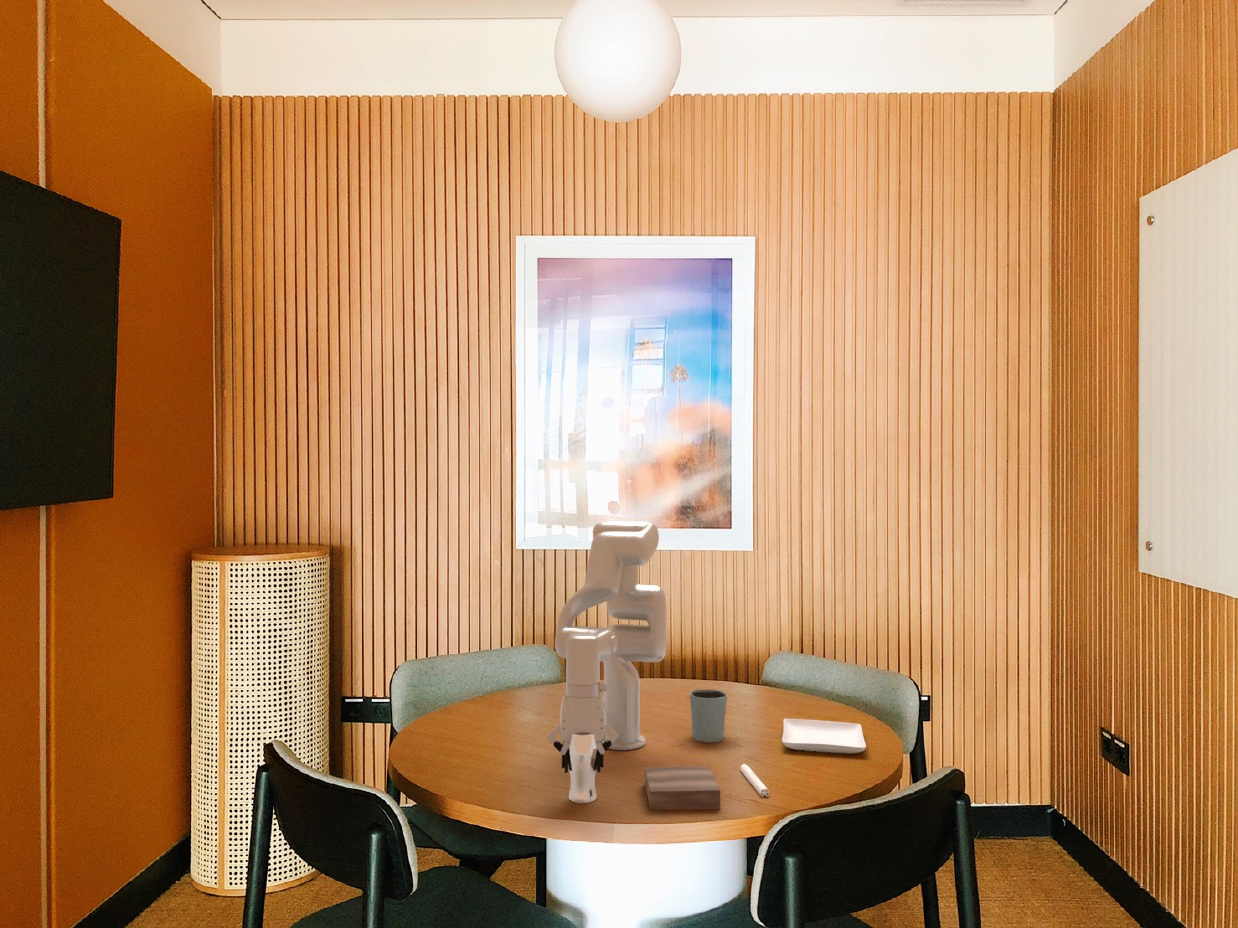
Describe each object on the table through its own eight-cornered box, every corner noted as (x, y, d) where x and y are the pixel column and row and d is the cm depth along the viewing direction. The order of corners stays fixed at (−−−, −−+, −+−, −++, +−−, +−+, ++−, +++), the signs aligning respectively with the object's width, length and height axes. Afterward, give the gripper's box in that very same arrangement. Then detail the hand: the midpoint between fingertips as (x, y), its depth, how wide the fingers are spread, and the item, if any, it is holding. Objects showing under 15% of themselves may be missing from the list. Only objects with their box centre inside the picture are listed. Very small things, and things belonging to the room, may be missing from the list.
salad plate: (867, 759, 215) (867, 746, 215) (782, 754, 219) (781, 740, 219) (860, 734, 236) (860, 722, 236) (783, 730, 240) (783, 717, 240)
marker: (738, 770, 207) (738, 760, 207) (746, 769, 207) (746, 760, 207) (760, 798, 189) (760, 787, 189) (769, 797, 189) (769, 787, 189)
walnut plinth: (644, 784, 196) (644, 767, 196) (708, 783, 197) (708, 766, 197) (650, 810, 181) (650, 791, 181) (720, 808, 182) (720, 790, 182)
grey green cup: (683, 739, 230) (684, 695, 230) (698, 729, 239) (698, 687, 239) (719, 745, 225) (719, 700, 225) (732, 735, 234) (732, 691, 234)
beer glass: (598, 792, 192) (598, 725, 192) (598, 804, 185) (598, 735, 185) (567, 792, 191) (567, 725, 191) (566, 804, 184) (566, 735, 185)
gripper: (620, 685, 192) (620, 764, 192) (544, 686, 191) (543, 765, 191) (622, 693, 185) (622, 776, 185) (543, 694, 184) (542, 777, 184)
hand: (582, 770), depth 188 cm, fingers closed on beer glass, 6 cm apart
